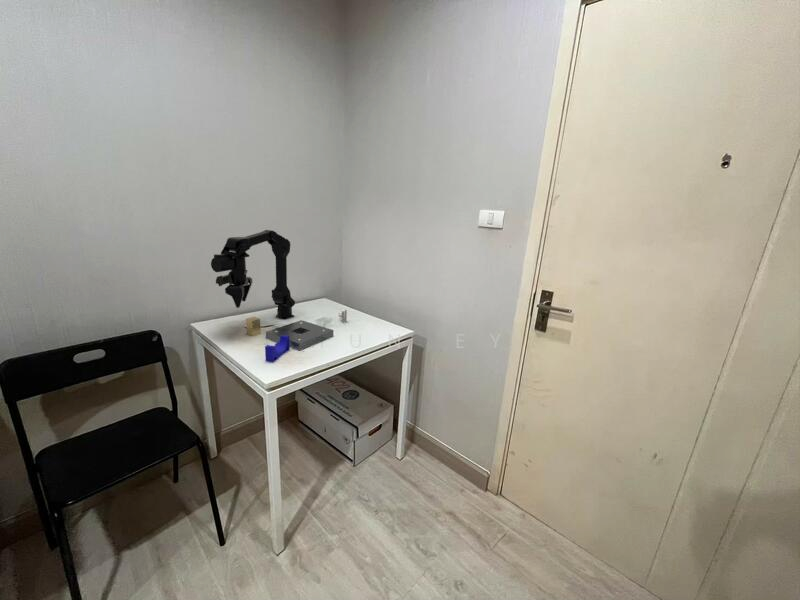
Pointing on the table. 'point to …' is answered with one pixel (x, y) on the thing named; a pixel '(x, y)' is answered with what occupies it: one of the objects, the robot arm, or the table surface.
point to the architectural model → (343, 316)
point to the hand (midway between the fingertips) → (241, 304)
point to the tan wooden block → (253, 326)
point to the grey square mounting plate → (300, 334)
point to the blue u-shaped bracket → (277, 349)
